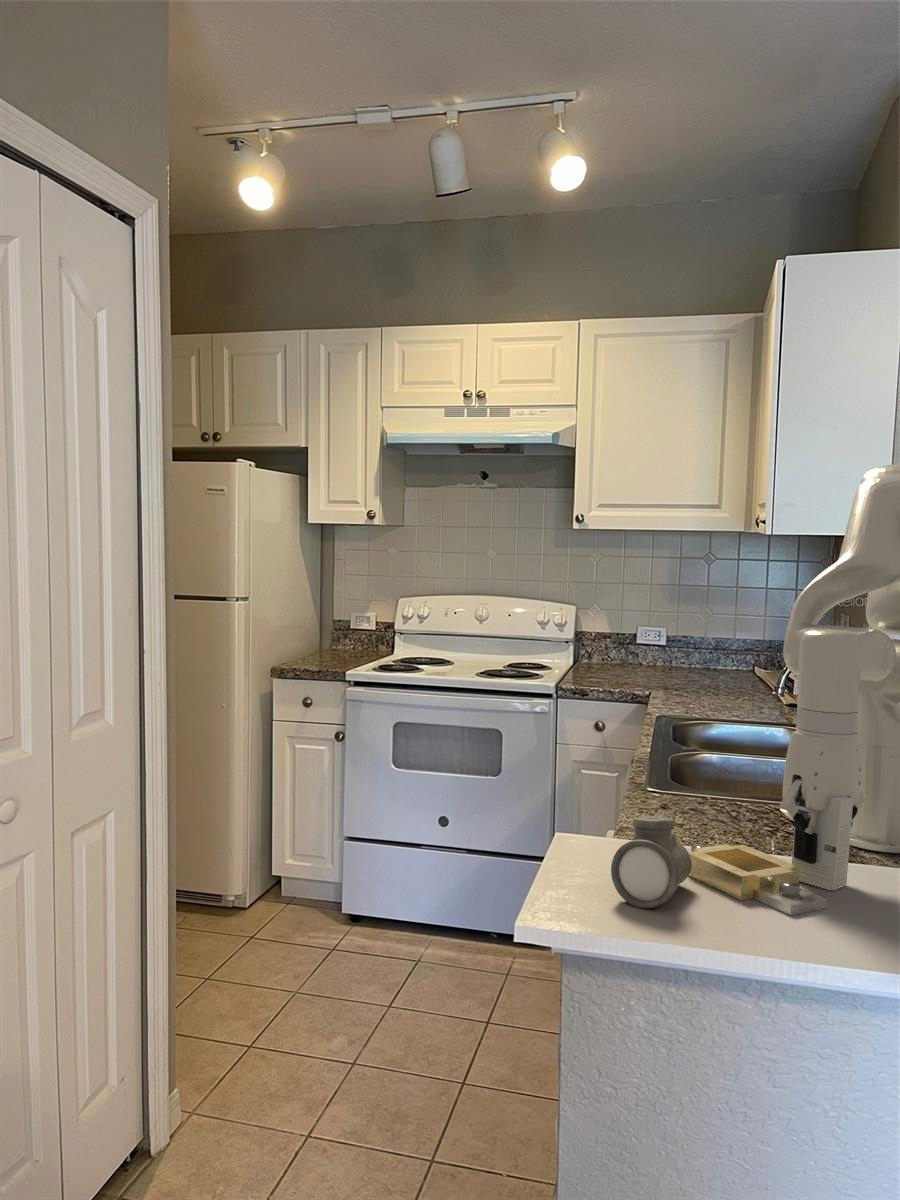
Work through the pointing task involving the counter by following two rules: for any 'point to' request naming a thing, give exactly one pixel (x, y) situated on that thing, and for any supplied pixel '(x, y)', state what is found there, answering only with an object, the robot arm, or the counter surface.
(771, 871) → the open yellow tray
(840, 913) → the counter surface
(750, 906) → the counter surface
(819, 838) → the skincare box
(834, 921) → the counter surface
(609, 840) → the counter surface
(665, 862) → the pipe fitting
